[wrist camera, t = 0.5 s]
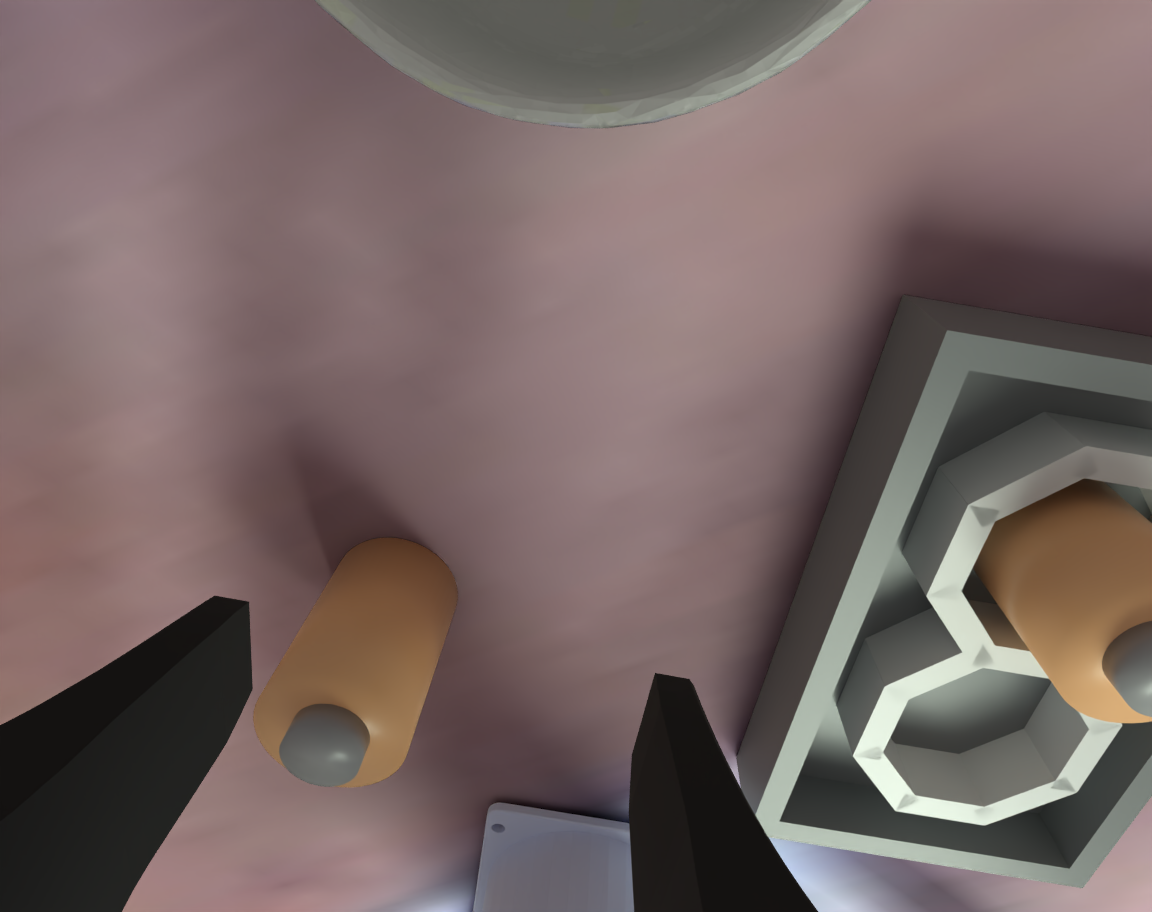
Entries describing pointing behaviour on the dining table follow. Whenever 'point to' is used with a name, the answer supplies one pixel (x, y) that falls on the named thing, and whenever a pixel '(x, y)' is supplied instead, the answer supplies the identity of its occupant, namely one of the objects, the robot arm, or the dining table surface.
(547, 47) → the teacup
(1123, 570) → the housing
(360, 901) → the dining table surface
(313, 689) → the orange battery
